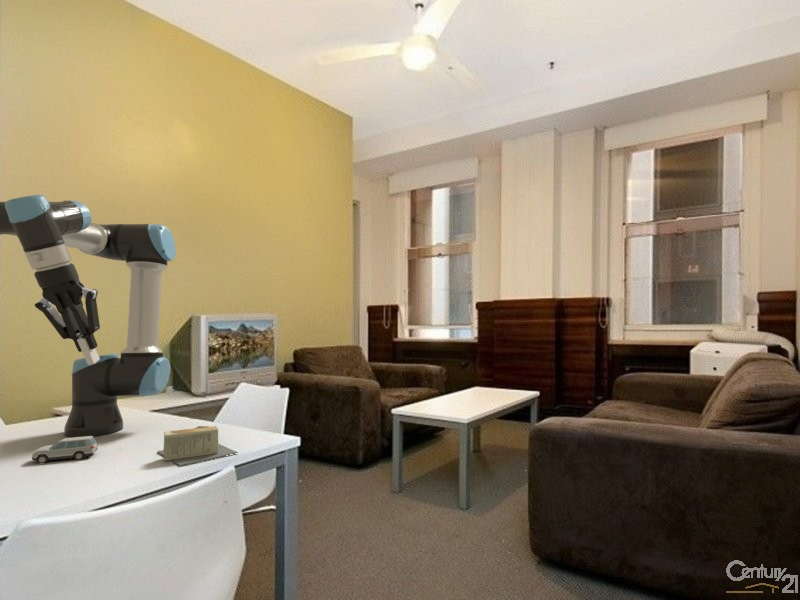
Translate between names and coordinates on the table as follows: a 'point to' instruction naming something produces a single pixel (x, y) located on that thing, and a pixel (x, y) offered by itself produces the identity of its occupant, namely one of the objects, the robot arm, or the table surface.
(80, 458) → the toy car
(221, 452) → the mat
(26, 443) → the table surface
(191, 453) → the skincare box
